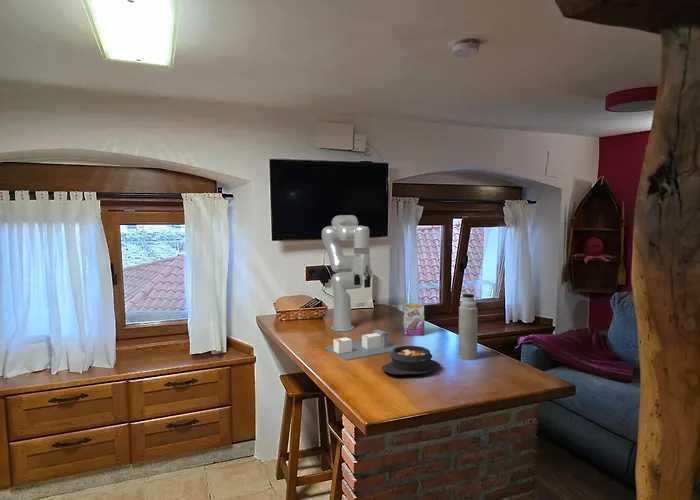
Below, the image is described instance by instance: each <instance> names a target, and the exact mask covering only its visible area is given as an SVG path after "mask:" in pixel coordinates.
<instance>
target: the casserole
mask: <svg viewBox="0 0 700 500" xmlns="http://www.w3.org/2000/svg"><path fill="white" fill-rule="evenodd" d="M399 346H400V347H396V348H394V349H393V351H392V352H390V355H389V356H390V358H391V361H390V362H389V363H386V364H384V365H382V366H381V370H382V371H384V372H386V373H388V374H390V375H391V374H392V375H396V376H398V375H399V376H400V375H405V376H407V375H408V376H410V375H411V376H418V375H424V374H427V373H429V372H432V371H433V370H435V369H438V368H440V367H441V363H440V362H438V361H436V360H434V359H432V358H433V355H432V354H431V351H430V349H428V348H426V347H423V346H418V345H403V346H402V345H399Z"/></svg>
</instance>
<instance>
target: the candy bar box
mask: <svg viewBox="0 0 700 500" xmlns="http://www.w3.org/2000/svg"><path fill="white" fill-rule="evenodd" d="M402 308H403V311H402V313H403V314H402V317H403V318H402V333H403V336H425V303H424V302H422V303H419V302H418V303H415V302H414V303H411V302H403V305H402Z"/></svg>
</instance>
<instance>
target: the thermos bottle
mask: <svg viewBox="0 0 700 500" xmlns="http://www.w3.org/2000/svg"><path fill="white" fill-rule="evenodd" d="M474 297H475V295H474V294H472V293H471V294H470V293H464V294H462V300H461V301H460V303H459V304H460V306H459V307H458V358H460V359H461V360H467V361H468V360H469V361H472V360H473V361H474V360H477V359H478V325H479V323H478V321H479V320H478V319H479V318H478V314H479V313H478V307H477V302H476V301H475V298H474Z"/></svg>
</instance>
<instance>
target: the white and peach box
mask: <svg viewBox="0 0 700 500" xmlns="http://www.w3.org/2000/svg"><path fill="white" fill-rule="evenodd" d="M352 343H353V339H352V338H350V337H347V336H345V337H340V338H334V339H333V346H334V352H336V353H338V354H341V353H346V352H352Z"/></svg>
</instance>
